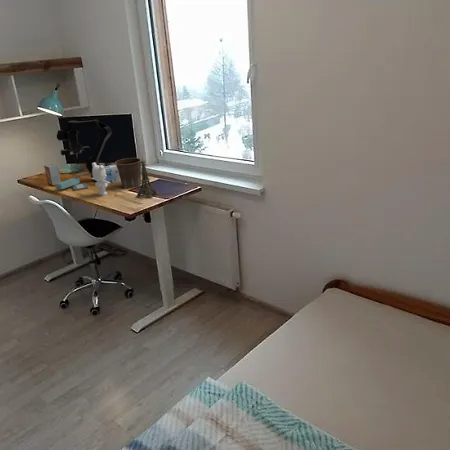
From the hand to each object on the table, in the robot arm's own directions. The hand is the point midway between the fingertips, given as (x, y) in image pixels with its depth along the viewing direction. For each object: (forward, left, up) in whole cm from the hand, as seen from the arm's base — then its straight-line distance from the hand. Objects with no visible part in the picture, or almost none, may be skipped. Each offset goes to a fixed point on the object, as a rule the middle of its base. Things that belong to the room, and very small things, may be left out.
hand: (77, 163), depth 312 cm
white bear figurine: (-7, +43, -12) cm, 46 cm away
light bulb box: (-17, +19, -12) cm, 28 cm away
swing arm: (+9, +14, -11) cm, 19 cm away
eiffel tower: (-30, +62, -12) cm, 70 cm away
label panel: (+3, +19, -12) cm, 23 cm away
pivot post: (+3, +10, -12) cm, 16 cm away
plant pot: (-27, +35, -12) cm, 46 cm away
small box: (+17, -2, -12) cm, 21 cm away
